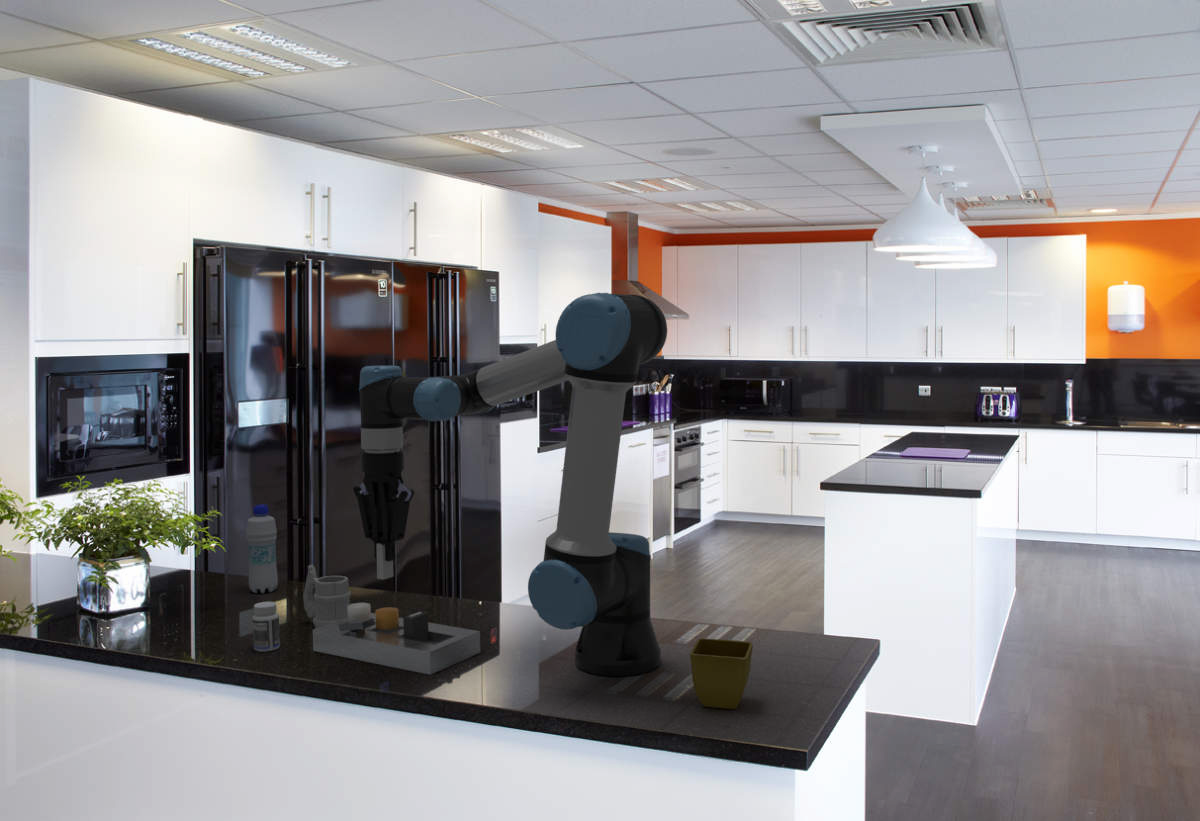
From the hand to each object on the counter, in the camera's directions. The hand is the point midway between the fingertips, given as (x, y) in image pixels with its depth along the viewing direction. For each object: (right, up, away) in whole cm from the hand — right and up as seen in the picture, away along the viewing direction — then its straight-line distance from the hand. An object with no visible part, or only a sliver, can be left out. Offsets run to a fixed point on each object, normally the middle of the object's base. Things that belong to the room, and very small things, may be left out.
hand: (385, 577), depth 192 cm
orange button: (0, -9, +1) cm, 9 cm away
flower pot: (+59, -15, -29) cm, 67 cm away
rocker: (-5, -8, -2) cm, 10 cm away
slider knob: (+6, -12, -3) cm, 13 cm away
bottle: (-37, -11, +47) cm, 61 cm away
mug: (-16, -13, +17) cm, 27 cm away
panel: (+2, -14, 0) cm, 14 cm away
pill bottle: (-23, -14, +3) cm, 27 cm away
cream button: (-6, -9, +4) cm, 11 cm away
